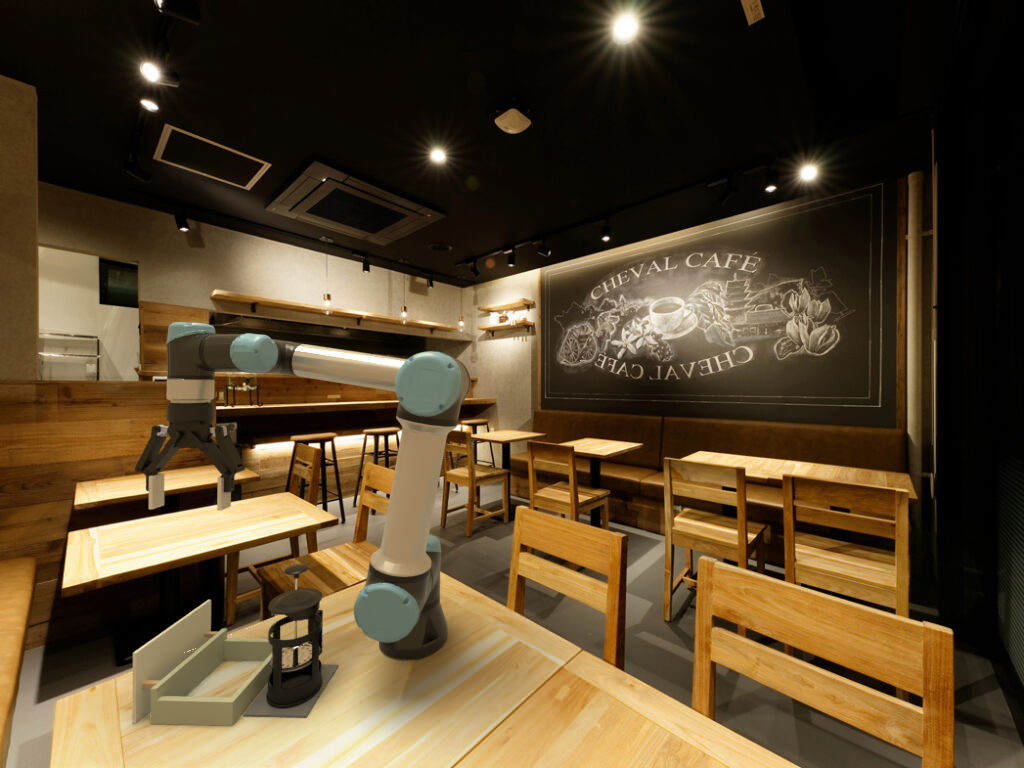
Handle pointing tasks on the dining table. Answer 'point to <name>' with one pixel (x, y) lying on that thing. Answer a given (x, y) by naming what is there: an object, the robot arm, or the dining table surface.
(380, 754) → the dining table surface
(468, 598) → the dining table surface
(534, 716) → the dining table surface
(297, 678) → the plate
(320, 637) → the french press
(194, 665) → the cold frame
